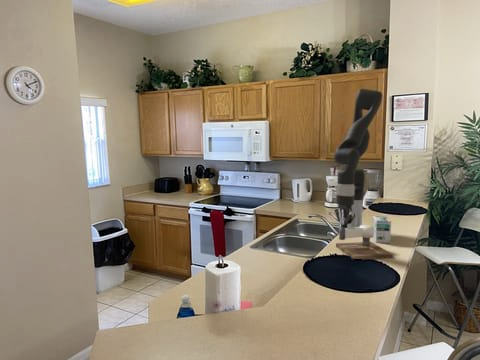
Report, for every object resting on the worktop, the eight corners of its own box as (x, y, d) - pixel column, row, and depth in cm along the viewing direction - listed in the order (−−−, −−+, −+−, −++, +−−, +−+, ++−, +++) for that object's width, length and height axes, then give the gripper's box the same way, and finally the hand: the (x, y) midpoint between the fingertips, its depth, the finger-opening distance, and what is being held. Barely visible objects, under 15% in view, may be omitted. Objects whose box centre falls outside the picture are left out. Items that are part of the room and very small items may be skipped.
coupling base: (335, 246, 159) (336, 234, 158) (370, 244, 161) (371, 233, 160) (353, 259, 141) (354, 246, 140) (392, 257, 143) (393, 244, 143)
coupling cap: (367, 234, 159) (368, 223, 158) (376, 237, 153) (376, 226, 152) (335, 237, 154) (336, 226, 153) (343, 241, 148) (343, 229, 147)
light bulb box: (390, 243, 163) (391, 221, 162) (375, 242, 165) (376, 220, 163) (385, 237, 174) (386, 216, 172) (371, 236, 175) (372, 215, 174)
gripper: (329, 192, 158) (328, 229, 160) (346, 196, 145) (345, 236, 147) (344, 191, 160) (342, 227, 162) (362, 195, 147) (360, 235, 149)
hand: (343, 232), depth 155 cm, fingers closed
